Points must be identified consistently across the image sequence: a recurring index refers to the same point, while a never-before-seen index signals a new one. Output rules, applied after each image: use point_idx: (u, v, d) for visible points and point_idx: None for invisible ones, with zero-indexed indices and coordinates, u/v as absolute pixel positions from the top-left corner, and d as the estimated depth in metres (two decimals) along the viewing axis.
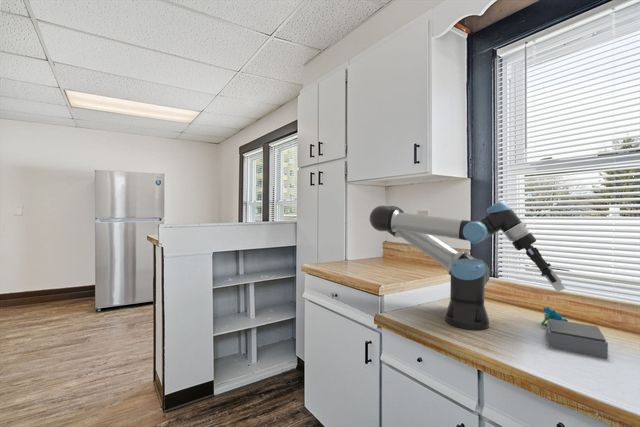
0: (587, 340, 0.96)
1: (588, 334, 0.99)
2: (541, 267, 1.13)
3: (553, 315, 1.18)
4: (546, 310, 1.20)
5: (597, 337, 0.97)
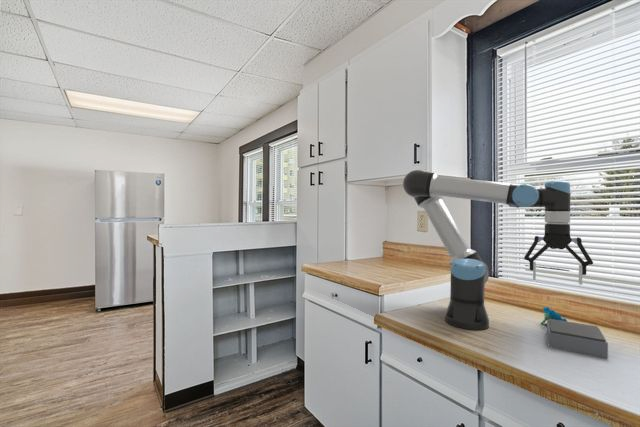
0: (587, 340, 0.96)
1: (588, 334, 0.99)
2: None
3: (553, 315, 1.18)
4: (546, 310, 1.20)
5: (597, 337, 0.97)
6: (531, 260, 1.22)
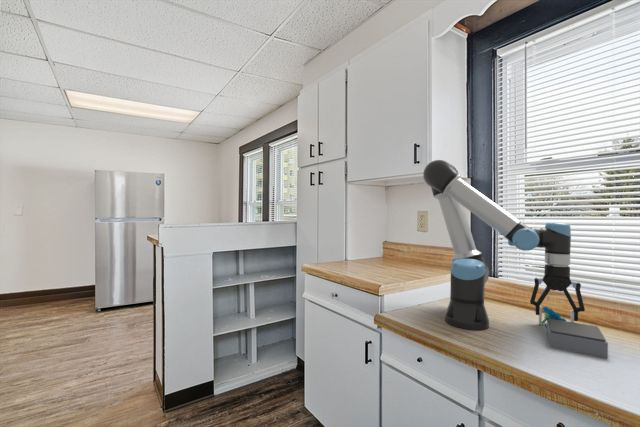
0: (587, 340, 0.96)
1: (588, 334, 0.99)
2: None
3: (552, 315, 1.18)
4: (545, 310, 1.20)
5: (597, 337, 0.97)
6: (537, 305, 1.21)
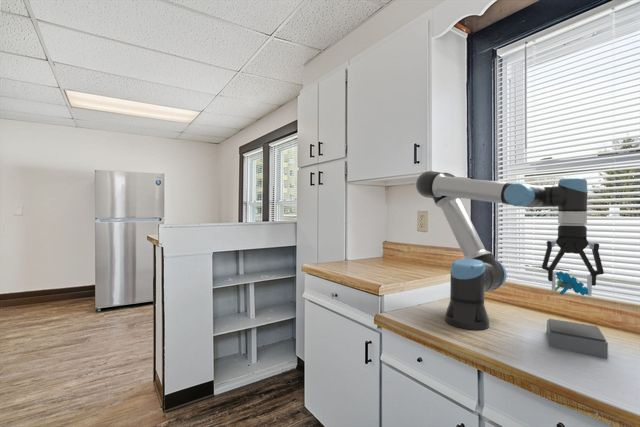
0: (587, 340, 0.96)
1: (588, 334, 0.99)
2: None
3: (567, 280, 1.07)
4: (559, 275, 1.09)
5: (597, 337, 0.97)
6: (550, 270, 1.09)
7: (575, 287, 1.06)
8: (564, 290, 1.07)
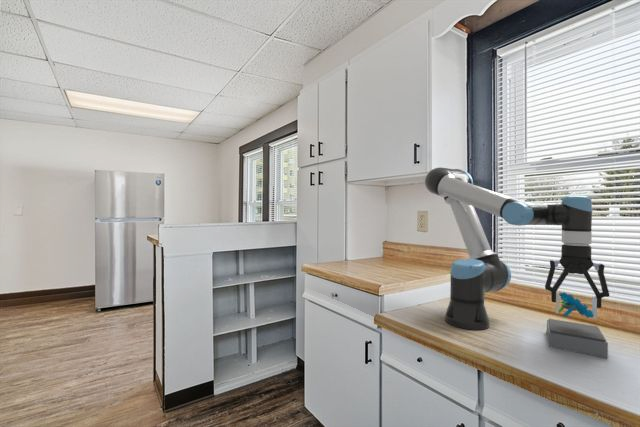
0: (587, 340, 0.96)
1: (588, 334, 0.99)
2: (607, 288, 0.99)
3: (571, 301, 1.03)
4: (563, 296, 1.05)
5: (597, 337, 0.97)
6: (554, 290, 1.06)
7: (579, 309, 1.03)
8: (568, 312, 1.03)
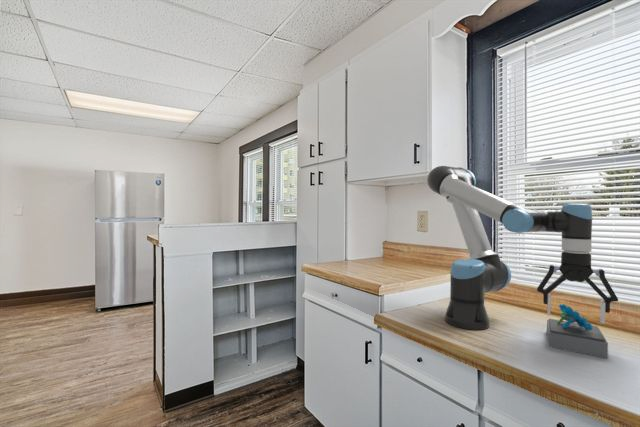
0: (587, 340, 0.96)
1: (588, 334, 0.99)
2: (614, 293, 0.99)
3: (570, 313, 1.03)
4: (562, 308, 1.06)
5: (597, 337, 0.97)
6: (545, 293, 1.07)
7: (579, 321, 1.03)
8: (567, 324, 1.03)
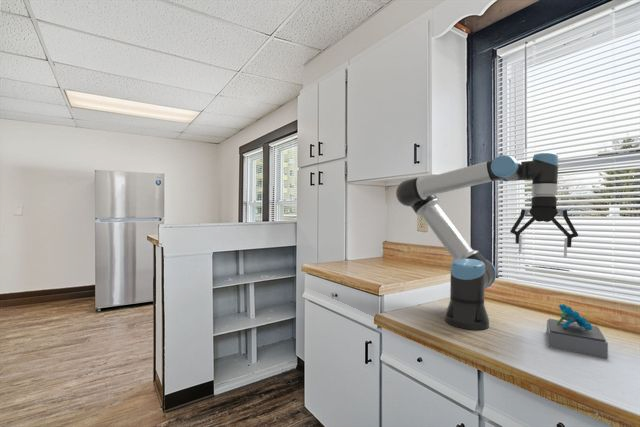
0: (587, 340, 0.96)
1: (588, 334, 0.99)
2: (575, 230, 1.12)
3: (570, 313, 1.04)
4: (562, 308, 1.06)
5: (597, 337, 0.97)
6: (517, 233, 1.22)
7: (578, 321, 1.03)
8: (567, 324, 1.03)
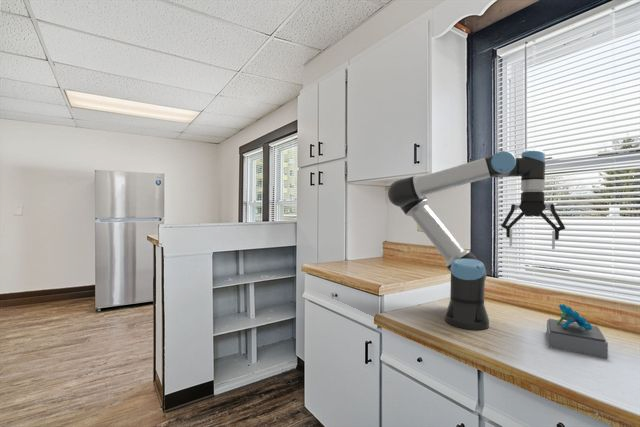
0: (587, 340, 0.96)
1: (588, 334, 0.99)
2: (562, 223, 1.18)
3: (570, 313, 1.04)
4: (562, 308, 1.06)
5: (597, 337, 0.97)
6: (508, 227, 1.27)
7: (578, 321, 1.03)
8: (566, 324, 1.03)
